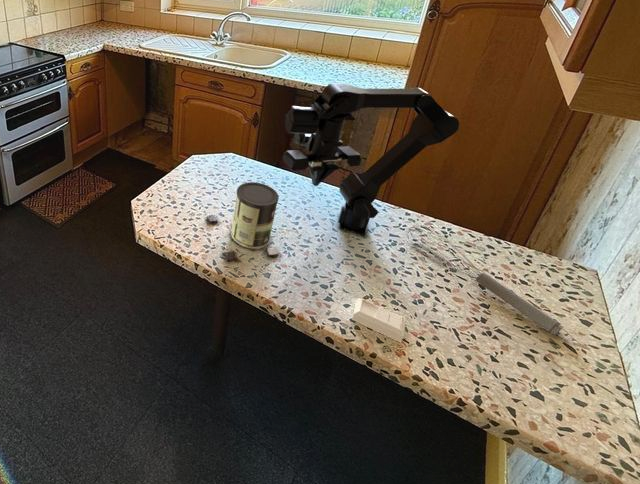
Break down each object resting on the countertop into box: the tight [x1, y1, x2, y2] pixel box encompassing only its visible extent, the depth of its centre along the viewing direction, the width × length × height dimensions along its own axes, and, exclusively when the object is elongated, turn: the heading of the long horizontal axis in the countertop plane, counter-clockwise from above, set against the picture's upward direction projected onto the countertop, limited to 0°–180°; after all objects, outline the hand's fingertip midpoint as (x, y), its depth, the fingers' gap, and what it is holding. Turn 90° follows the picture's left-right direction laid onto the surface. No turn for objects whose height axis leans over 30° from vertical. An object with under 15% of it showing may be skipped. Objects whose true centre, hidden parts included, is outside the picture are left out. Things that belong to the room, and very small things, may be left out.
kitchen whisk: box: [405, 224, 574, 342], centre depth 92 cm, size 6×34×6 cm, turn 25°
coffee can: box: [230, 181, 280, 250], centre depth 105 cm, size 10×10×14 cm
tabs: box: [206, 215, 279, 262], centre depth 108 cm, size 13×17×1 cm
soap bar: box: [351, 297, 406, 343], centre depth 84 cm, size 5×9×3 cm, turn 54°
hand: (314, 185), depth 107 cm, fingers closed
